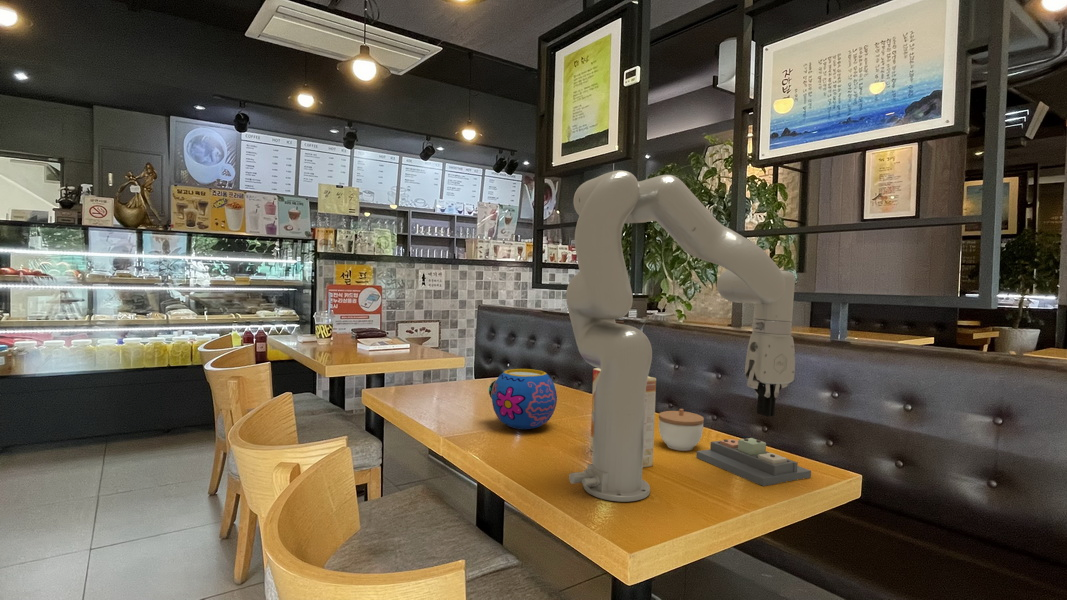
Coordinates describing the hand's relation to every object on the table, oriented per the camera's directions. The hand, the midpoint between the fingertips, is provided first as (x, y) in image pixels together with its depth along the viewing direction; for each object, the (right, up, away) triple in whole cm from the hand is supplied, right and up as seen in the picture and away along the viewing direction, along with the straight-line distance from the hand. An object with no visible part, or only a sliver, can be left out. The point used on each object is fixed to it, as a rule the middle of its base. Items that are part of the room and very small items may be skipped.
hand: (765, 414), depth 117 cm
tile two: (-1, -9, +5) cm, 10 cm away
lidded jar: (-13, -12, +18) cm, 26 cm away
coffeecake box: (-30, -12, +8) cm, 33 cm away
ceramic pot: (-52, -10, +32) cm, 62 cm away
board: (-1, -13, +5) cm, 13 cm away
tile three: (-3, -11, +10) cm, 15 cm away
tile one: (+1, -11, 0) cm, 11 cm away
